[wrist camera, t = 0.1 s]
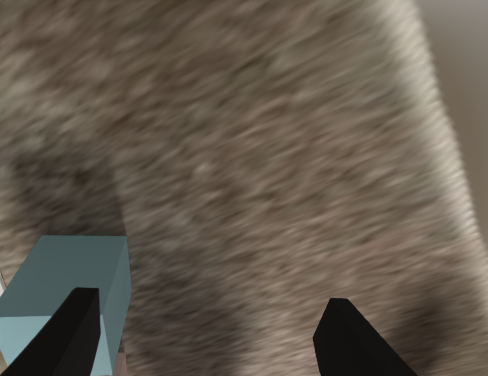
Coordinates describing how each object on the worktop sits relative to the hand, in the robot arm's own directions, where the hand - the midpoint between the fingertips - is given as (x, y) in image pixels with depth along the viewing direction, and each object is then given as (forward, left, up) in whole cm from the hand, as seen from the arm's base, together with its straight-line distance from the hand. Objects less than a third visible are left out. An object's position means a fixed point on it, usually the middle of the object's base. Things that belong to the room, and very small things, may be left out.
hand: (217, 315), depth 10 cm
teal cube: (-7, +7, -10) cm, 15 cm away
